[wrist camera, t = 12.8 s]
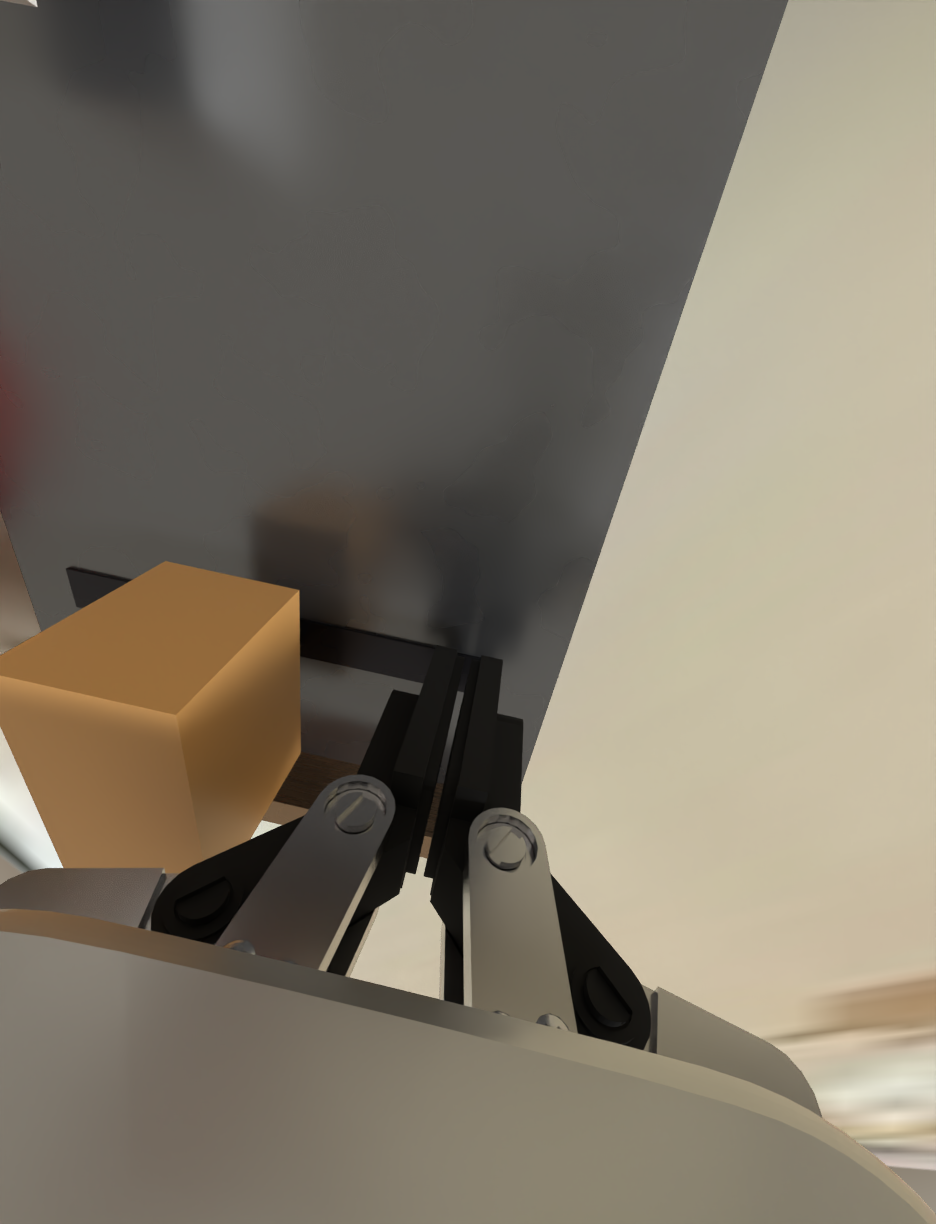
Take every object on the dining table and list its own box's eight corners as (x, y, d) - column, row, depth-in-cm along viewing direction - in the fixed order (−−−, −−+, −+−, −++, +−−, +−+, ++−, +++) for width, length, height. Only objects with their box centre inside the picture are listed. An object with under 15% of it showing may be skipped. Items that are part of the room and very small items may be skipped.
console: (949, -626, 6) (1813, -2666, 2) (512, 762, 18) (505, 876, 14) (-229, -794, 6) (-1552, -2764, 2) (127, 676, 18) (18, 763, 14)
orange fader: (324, 564, 11) (176, 714, 7) (321, 717, 14) (211, 905, 9) (204, 538, 11) (-25, 669, 7) (223, 695, 14) (64, 870, 9)
